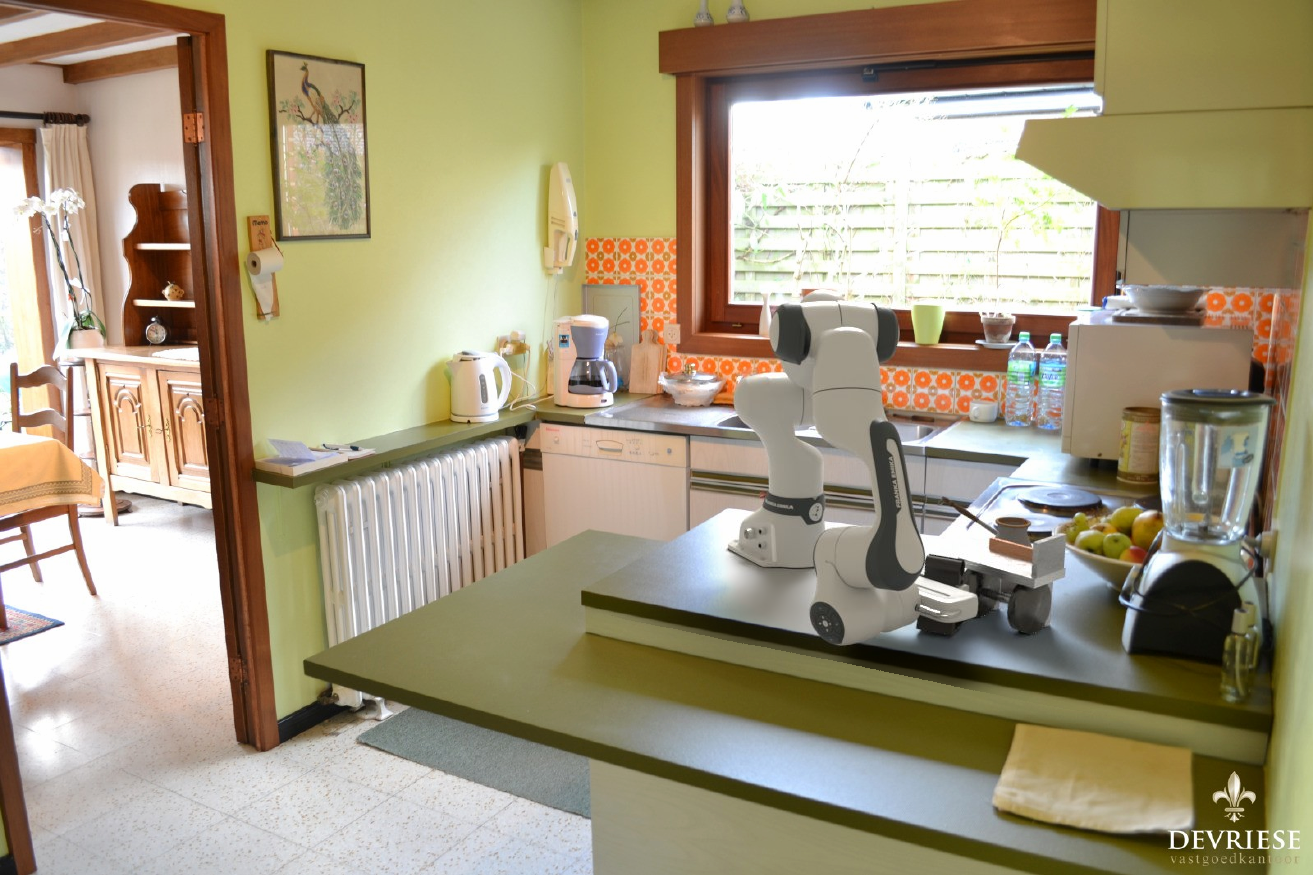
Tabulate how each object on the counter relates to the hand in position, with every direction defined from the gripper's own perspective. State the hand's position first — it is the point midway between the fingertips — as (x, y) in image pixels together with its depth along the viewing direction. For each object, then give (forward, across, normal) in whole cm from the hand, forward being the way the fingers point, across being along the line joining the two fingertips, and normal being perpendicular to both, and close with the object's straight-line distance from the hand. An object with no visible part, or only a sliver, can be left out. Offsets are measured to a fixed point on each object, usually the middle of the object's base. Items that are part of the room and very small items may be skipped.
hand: (947, 582), depth 173 cm
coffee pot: (+26, +10, +8) cm, 29 cm away
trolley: (+11, -5, +8) cm, 14 cm away
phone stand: (-1, 0, +8) cm, 8 cm away
